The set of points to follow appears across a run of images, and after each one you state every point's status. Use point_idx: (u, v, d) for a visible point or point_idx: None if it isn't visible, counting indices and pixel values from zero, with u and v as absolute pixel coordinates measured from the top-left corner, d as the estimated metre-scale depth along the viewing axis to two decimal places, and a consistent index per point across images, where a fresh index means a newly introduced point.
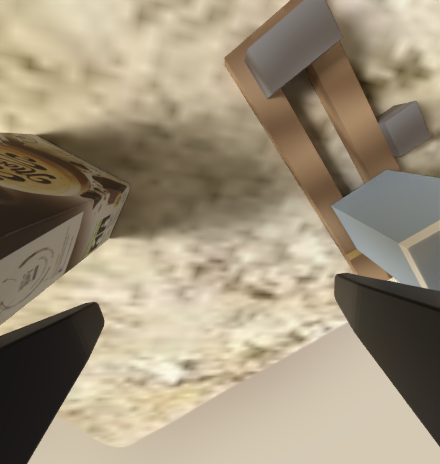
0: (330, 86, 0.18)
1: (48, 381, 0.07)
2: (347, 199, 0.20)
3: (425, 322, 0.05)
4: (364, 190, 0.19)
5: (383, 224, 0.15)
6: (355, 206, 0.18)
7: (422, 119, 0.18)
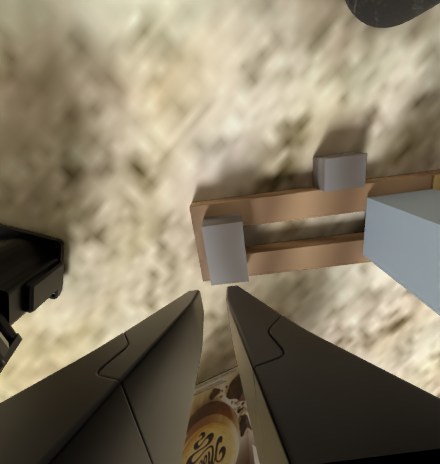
0: (265, 218, 0.20)
1: (187, 367, 0.06)
2: (368, 245, 0.20)
3: (238, 341, 0.05)
4: (371, 231, 0.19)
5: (419, 290, 0.15)
6: (381, 258, 0.18)
7: (345, 156, 0.17)
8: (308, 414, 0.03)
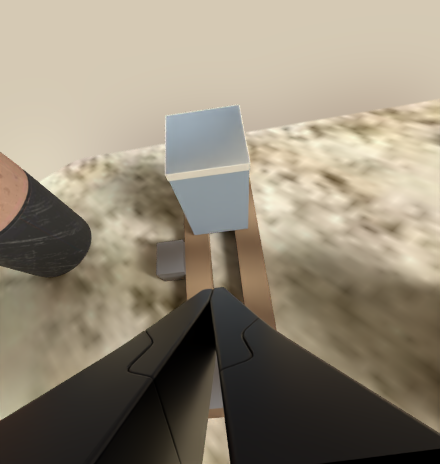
0: None
1: (206, 365, 0.06)
2: (235, 226, 0.22)
3: None
4: (220, 227, 0.22)
5: (240, 191, 0.17)
6: (237, 217, 0.20)
7: (157, 259, 0.21)
8: (260, 418, 0.03)
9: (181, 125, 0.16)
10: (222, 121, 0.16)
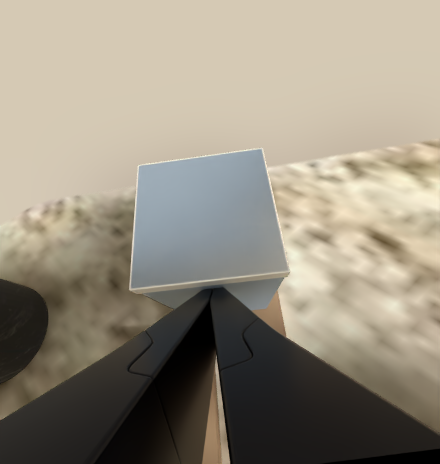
0: None
1: (206, 365, 0.06)
2: None
3: None
4: None
5: (263, 290, 0.10)
6: (253, 304, 0.13)
7: None
8: (260, 418, 0.03)
9: (164, 185, 0.09)
10: (234, 179, 0.09)
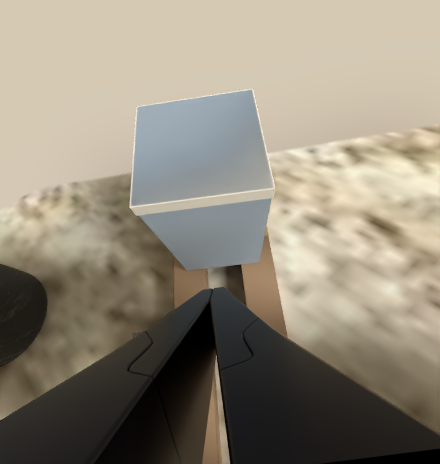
0: None
1: (206, 365, 0.06)
2: (242, 261, 0.16)
3: None
4: (221, 262, 0.16)
5: (253, 224, 0.11)
6: (246, 252, 0.14)
7: None
8: (260, 418, 0.03)
9: (160, 122, 0.10)
10: (226, 115, 0.10)
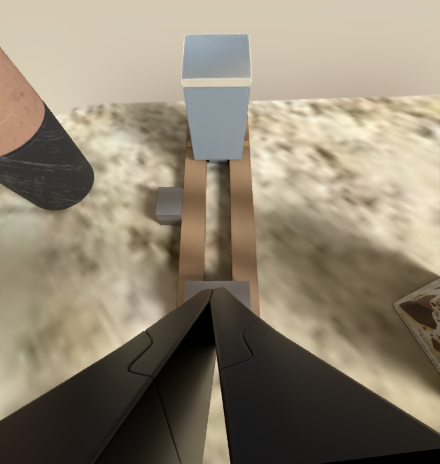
0: (198, 262, 0.22)
1: (206, 365, 0.06)
2: (231, 155, 0.25)
3: None
4: (218, 153, 0.25)
5: (240, 110, 0.20)
6: (234, 143, 0.23)
7: None
8: (260, 418, 0.03)
9: (197, 43, 0.19)
10: (233, 45, 0.19)
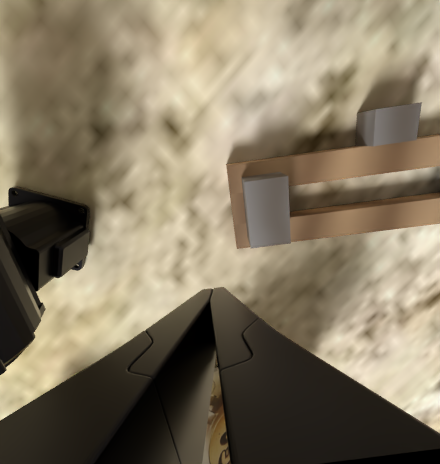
0: (307, 178, 0.19)
1: (206, 365, 0.06)
2: None
3: None
4: None
5: None
6: None
7: (397, 106, 0.16)
8: (260, 418, 0.03)
9: None
10: None
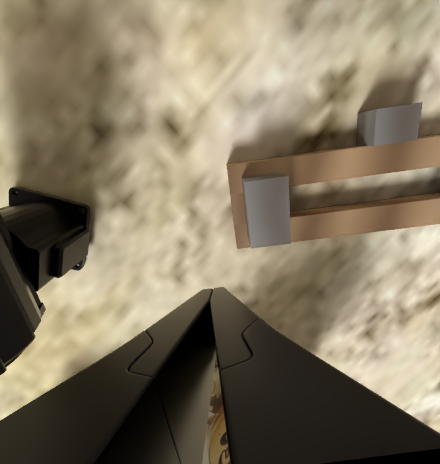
0: (307, 178, 0.19)
1: (206, 365, 0.06)
2: None
3: None
4: None
5: None
6: None
7: None
8: (260, 418, 0.03)
9: None
10: None
